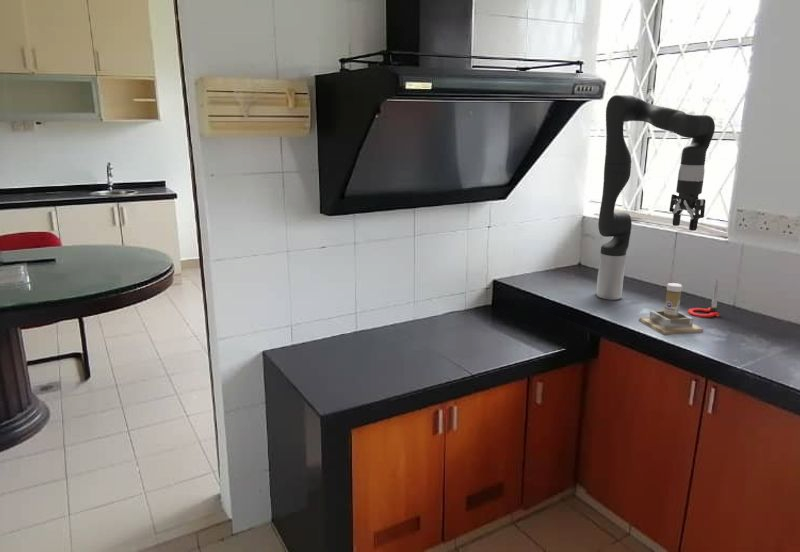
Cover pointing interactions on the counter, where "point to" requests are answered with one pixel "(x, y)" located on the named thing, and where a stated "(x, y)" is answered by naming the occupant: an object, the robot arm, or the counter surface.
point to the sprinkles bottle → (672, 300)
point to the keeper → (670, 323)
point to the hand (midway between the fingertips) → (684, 227)
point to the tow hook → (711, 309)
